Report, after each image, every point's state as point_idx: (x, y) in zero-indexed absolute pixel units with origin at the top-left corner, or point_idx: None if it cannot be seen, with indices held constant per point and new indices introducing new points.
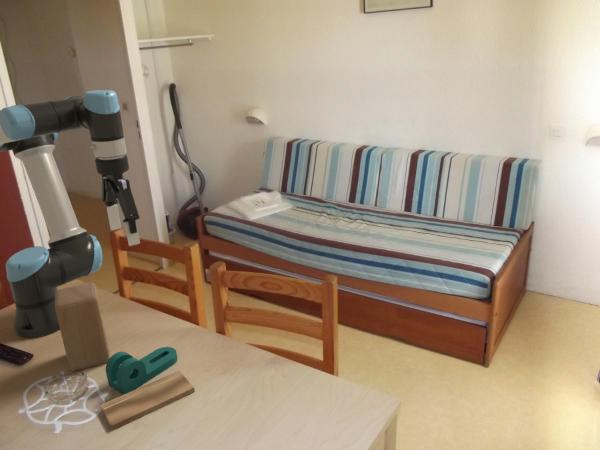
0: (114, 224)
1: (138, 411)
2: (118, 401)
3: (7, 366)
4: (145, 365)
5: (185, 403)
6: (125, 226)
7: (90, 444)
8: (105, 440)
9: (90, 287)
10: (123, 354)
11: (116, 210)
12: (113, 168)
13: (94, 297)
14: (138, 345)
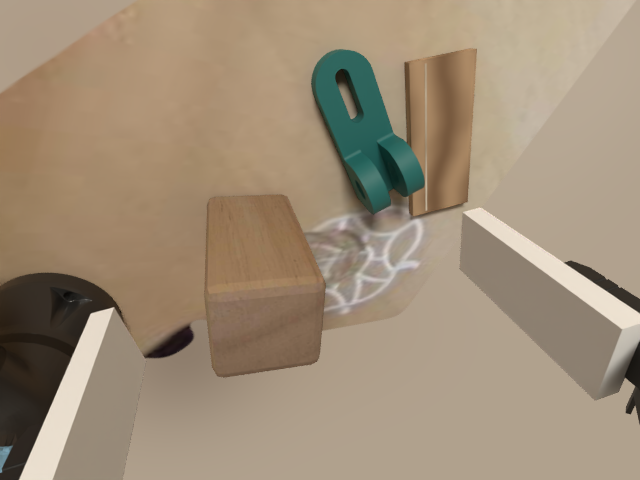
0: (125, 374)
1: (466, 161)
2: (423, 189)
3: None
4: (363, 131)
5: (486, 76)
6: (559, 358)
7: None
8: (474, 208)
9: (253, 301)
10: (382, 185)
11: (73, 470)
12: None
13: (321, 286)
14: (247, 128)
